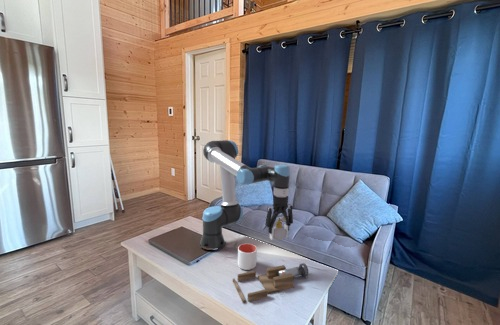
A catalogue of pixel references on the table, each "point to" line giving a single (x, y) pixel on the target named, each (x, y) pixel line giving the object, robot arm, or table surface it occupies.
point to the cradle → (266, 283)
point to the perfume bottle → (279, 229)
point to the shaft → (295, 271)
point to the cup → (247, 256)
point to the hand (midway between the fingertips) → (278, 237)
